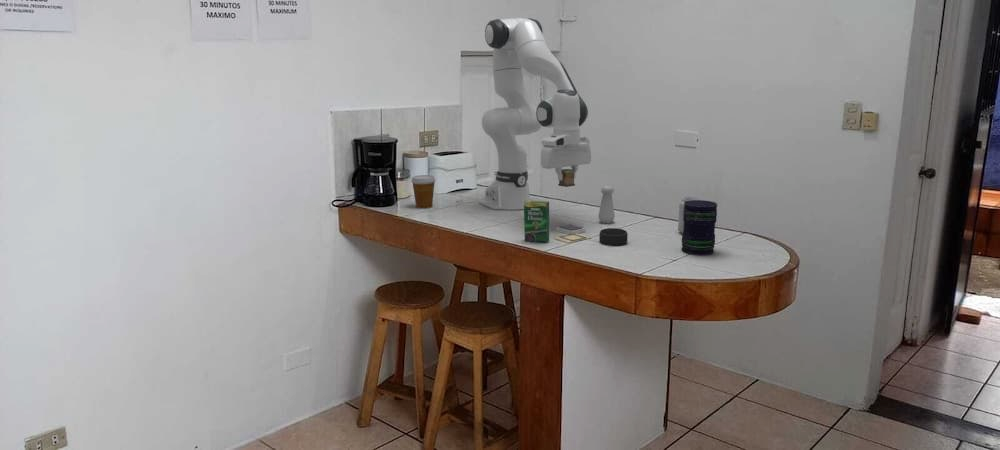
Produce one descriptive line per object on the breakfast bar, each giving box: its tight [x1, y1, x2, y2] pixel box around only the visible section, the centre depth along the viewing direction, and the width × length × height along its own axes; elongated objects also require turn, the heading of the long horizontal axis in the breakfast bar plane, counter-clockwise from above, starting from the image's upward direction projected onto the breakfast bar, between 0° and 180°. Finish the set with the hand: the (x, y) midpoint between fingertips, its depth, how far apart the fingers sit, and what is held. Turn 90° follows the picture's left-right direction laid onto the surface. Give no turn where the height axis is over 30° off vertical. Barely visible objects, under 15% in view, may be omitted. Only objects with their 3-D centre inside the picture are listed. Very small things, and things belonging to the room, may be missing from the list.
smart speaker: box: [598, 227, 629, 246], centre depth 228 cm, size 9×9×4 cm
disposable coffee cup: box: [411, 174, 436, 209], centre depth 281 cm, size 10×10×12 cm
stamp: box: [557, 168, 576, 188], centre depth 243 cm, size 4×4×5 cm
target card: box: [553, 233, 592, 244], centre depth 233 cm, size 7×10×1 cm
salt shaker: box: [598, 185, 616, 225], centre depth 254 cm, size 6×6×13 cm
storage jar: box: [681, 199, 718, 256], centre depth 216 cm, size 10×10×15 cm
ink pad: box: [556, 223, 586, 235], centre depth 242 cm, size 8×6×2 cm
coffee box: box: [523, 200, 550, 244], centre depth 229 cm, size 8×3×13 cm, turn 67°
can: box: [677, 196, 702, 235], centre depth 238 cm, size 8×8×12 cm
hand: (566, 179), depth 243 cm, fingers closed on stamp, 4 cm apart
